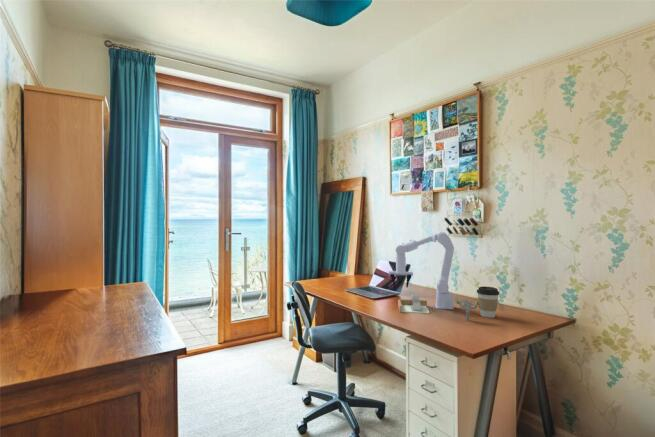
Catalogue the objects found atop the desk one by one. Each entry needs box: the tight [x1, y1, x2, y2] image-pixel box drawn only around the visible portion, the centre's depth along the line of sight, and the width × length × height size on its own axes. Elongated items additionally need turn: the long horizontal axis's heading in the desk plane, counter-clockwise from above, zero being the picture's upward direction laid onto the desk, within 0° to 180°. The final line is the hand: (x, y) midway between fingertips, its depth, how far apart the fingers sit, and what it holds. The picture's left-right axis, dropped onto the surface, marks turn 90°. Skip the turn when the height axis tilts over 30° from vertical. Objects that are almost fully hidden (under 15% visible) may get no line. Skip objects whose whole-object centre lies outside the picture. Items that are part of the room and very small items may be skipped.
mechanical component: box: [456, 299, 479, 322], centre depth 177 cm, size 3×10×10 cm, turn 79°
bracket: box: [411, 293, 421, 311], centre depth 197 cm, size 9×4×7 cm, turn 172°
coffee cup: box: [476, 286, 500, 319], centre depth 185 cm, size 11×11×15 cm
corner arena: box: [397, 298, 430, 315], centre depth 198 cm, size 17×16×4 cm
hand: (400, 287), depth 209 cm, fingers open, 7 cm apart
